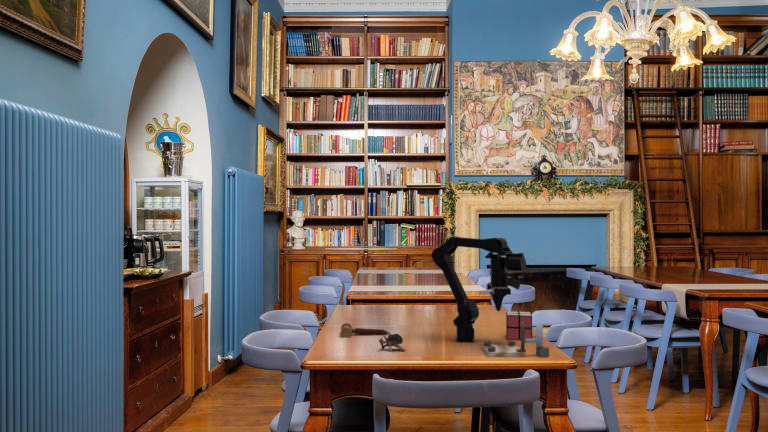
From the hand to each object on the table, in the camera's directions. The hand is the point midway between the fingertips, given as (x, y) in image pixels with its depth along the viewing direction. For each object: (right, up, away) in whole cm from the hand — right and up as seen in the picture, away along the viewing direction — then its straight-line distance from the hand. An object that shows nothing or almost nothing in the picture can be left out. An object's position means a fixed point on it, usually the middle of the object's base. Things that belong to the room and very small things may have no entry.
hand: (498, 310), depth 212 cm
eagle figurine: (-41, -13, -10) cm, 44 cm away
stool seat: (-1, -13, -13) cm, 18 cm away
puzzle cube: (+11, -14, +14) cm, 22 cm away
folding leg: (+9, -12, -16) cm, 23 cm away
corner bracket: (+12, -13, -18) cm, 25 cm away
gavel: (-52, -14, +19) cm, 57 cm away
